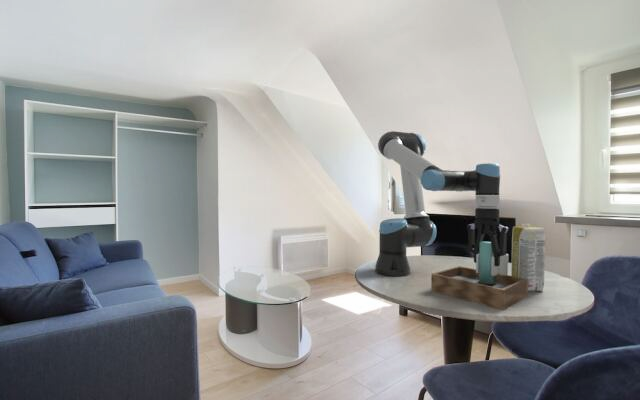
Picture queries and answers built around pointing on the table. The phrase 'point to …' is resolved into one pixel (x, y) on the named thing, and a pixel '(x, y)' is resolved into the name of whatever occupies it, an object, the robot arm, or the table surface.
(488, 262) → the peg
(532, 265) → the juice carton
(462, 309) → the table surface
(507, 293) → the crate
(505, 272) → the mug
